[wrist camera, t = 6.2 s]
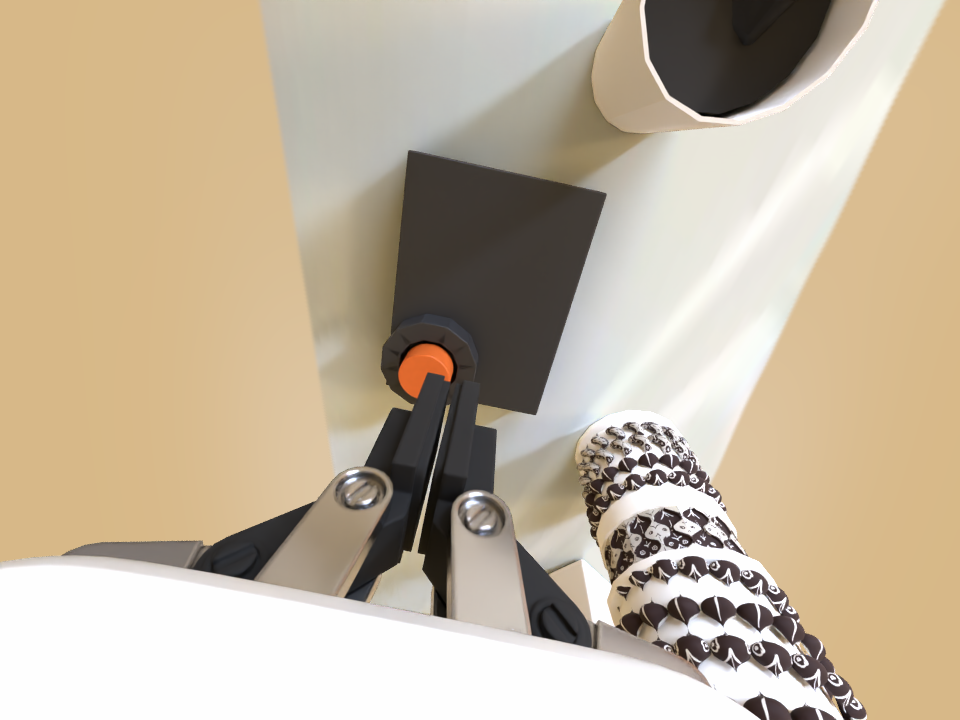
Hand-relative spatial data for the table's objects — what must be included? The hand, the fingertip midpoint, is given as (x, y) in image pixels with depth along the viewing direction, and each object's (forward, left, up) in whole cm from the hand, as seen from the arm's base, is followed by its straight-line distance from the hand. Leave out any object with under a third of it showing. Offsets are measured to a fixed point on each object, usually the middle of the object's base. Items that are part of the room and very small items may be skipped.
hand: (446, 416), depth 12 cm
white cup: (-13, +6, -15) cm, 21 cm away
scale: (+1, 0, -15) cm, 15 cm away
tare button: (+5, -2, -12) cm, 13 cm away
